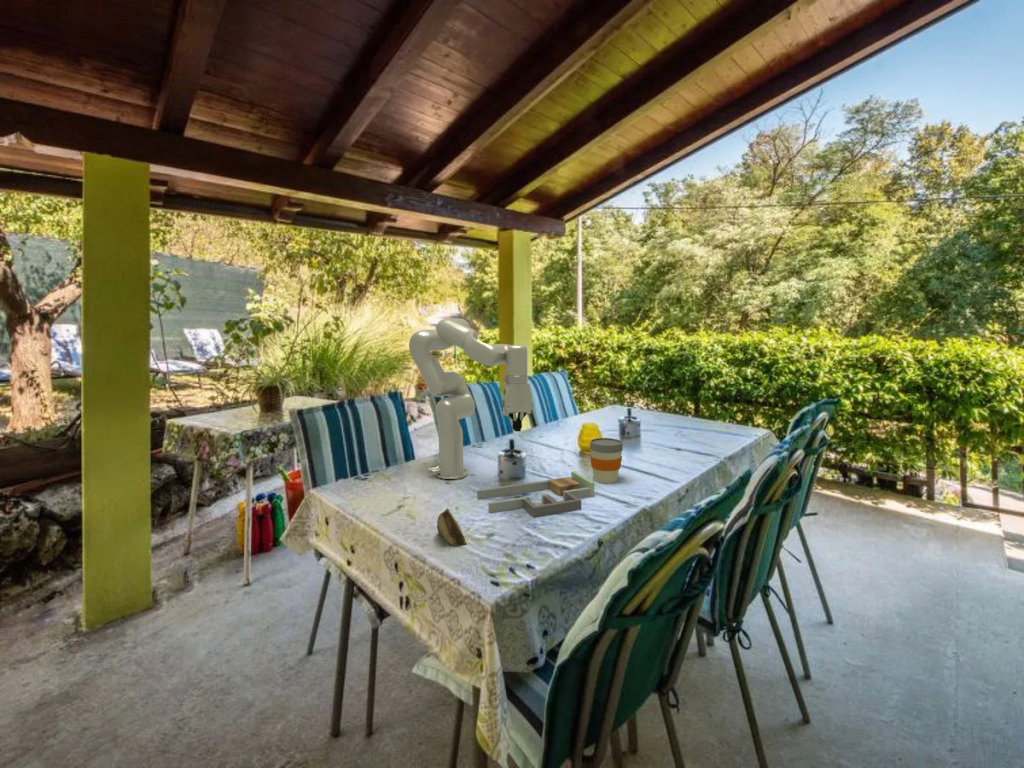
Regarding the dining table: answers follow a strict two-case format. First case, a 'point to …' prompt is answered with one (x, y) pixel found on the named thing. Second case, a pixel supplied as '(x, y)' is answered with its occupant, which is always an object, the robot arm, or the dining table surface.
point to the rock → (450, 528)
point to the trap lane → (549, 502)
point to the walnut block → (563, 485)
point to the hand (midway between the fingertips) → (517, 430)
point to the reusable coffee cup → (606, 459)
